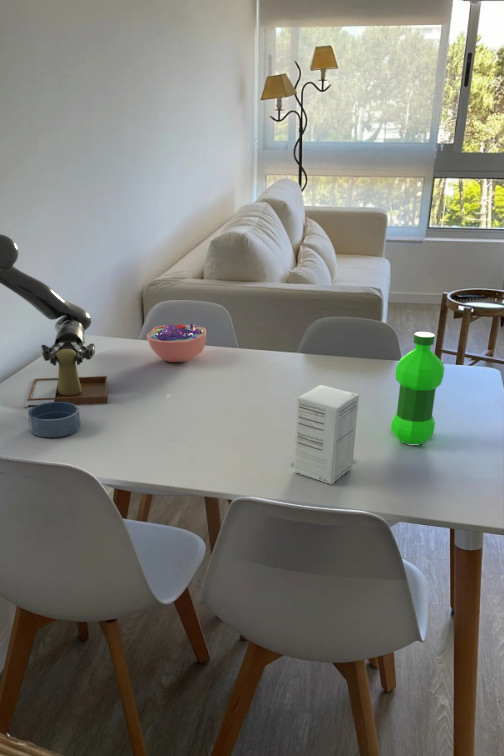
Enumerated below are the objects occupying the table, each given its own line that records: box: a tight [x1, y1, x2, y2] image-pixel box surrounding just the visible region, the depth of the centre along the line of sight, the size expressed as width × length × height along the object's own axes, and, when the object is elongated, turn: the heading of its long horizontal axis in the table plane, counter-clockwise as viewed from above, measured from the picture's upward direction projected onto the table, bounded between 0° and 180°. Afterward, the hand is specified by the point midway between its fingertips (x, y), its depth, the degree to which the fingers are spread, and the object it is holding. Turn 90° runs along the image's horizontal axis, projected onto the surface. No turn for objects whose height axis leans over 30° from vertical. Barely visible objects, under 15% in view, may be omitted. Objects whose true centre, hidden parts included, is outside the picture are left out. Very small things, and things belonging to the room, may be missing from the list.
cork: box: [56, 349, 82, 395], centre depth 180 cm, size 6×6×11 cm
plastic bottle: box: [390, 331, 445, 445], centre depth 156 cm, size 10×10×25 cm
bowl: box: [27, 401, 82, 438], centre depth 162 cm, size 11×11×4 cm
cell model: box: [146, 323, 207, 363], centre depth 208 cm, size 17×20×11 cm
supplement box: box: [293, 384, 360, 485], centre depth 143 cm, size 10×9×17 cm
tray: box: [27, 375, 109, 408], centre depth 183 cm, size 19×15×2 cm
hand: (66, 361), depth 176 cm, fingers closed on cork, 5 cm apart
